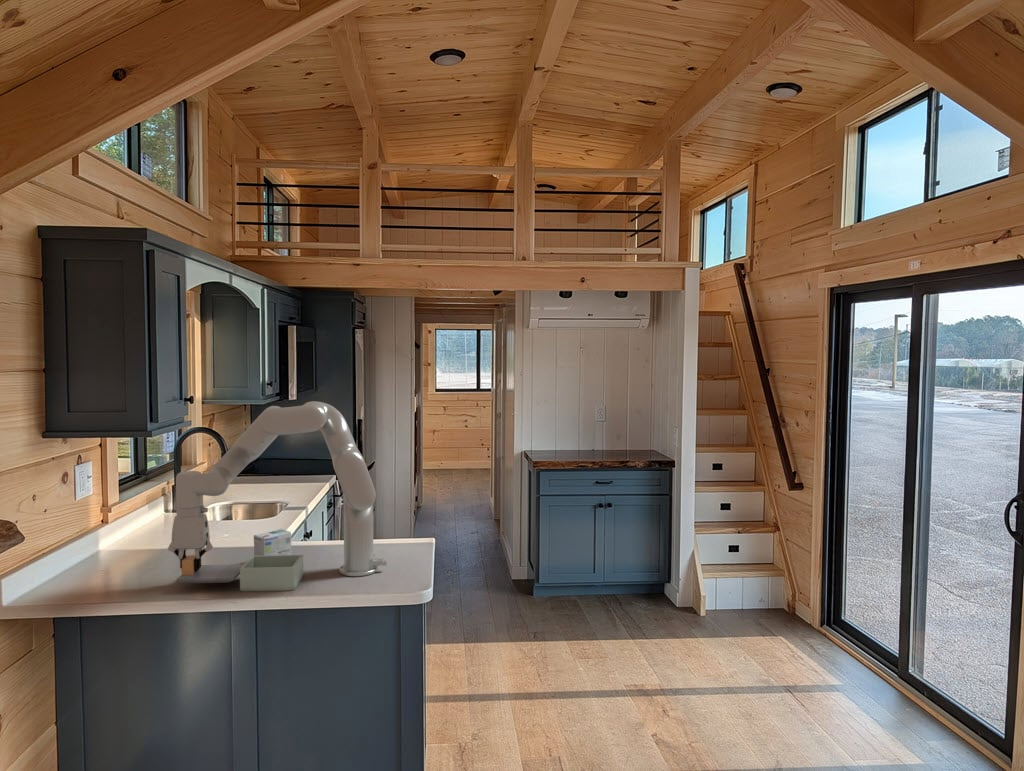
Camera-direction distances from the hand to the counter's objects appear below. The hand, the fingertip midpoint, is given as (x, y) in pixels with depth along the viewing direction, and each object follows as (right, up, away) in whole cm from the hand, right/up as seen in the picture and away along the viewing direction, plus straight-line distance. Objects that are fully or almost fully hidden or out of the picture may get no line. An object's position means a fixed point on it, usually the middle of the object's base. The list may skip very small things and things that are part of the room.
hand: (190, 569), depth 214 cm
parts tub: (+25, -5, +2) cm, 25 cm away
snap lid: (+7, -2, +1) cm, 7 cm away
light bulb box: (+18, -4, +22) cm, 29 cm away
